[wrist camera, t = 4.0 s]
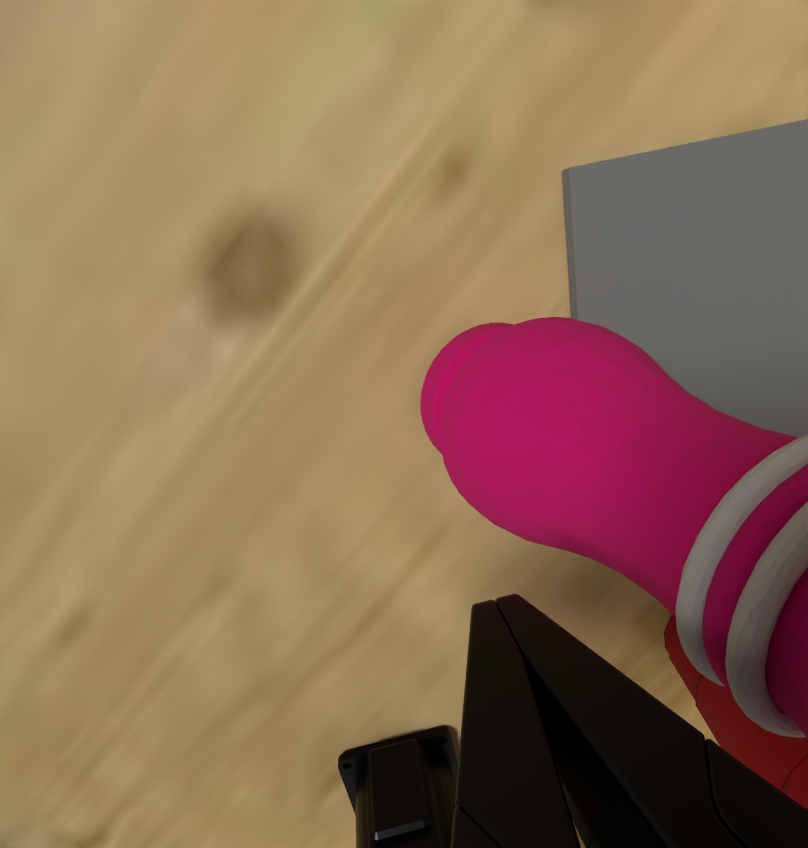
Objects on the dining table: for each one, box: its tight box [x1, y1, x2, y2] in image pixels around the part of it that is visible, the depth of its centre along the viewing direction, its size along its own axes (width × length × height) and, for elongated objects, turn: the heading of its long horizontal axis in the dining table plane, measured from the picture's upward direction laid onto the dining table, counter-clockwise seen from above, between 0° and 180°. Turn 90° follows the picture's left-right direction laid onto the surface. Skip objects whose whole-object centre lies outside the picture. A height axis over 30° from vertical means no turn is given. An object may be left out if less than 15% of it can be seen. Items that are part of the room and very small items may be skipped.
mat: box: [562, 119, 808, 437], centre depth 20 cm, size 16×14×1 cm
